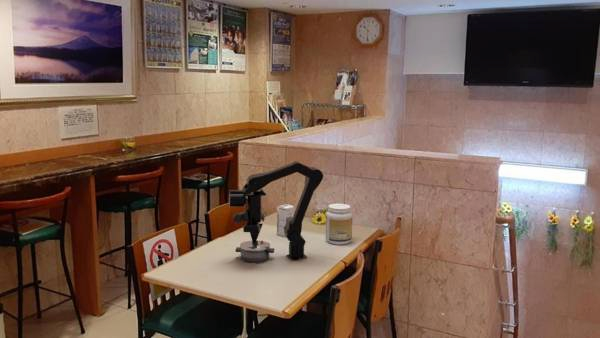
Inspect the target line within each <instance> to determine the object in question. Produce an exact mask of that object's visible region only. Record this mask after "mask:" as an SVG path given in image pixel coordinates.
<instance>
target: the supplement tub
mask: <svg viewBox="0 0 600 338" xmlns="http://www.w3.org/2000/svg"><path fill="white" fill-rule="evenodd" d="M327 207H328V208H327V210H328V211H327V212H326V213H325V214H326V216H325V240H326V242H327V243H329V244H333V245H338V246H340V245H348V244H349V243H351V242H352V240H353V237H352V236H353V213H352V211H351V210H352V209H351V208H352V207H351V205H349V204H346V203H331V204H328V206H327Z"/></svg>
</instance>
